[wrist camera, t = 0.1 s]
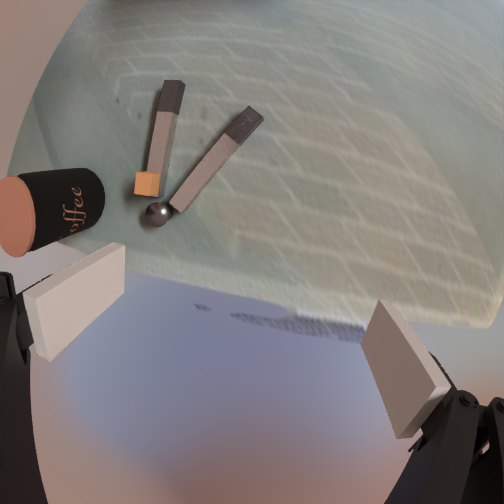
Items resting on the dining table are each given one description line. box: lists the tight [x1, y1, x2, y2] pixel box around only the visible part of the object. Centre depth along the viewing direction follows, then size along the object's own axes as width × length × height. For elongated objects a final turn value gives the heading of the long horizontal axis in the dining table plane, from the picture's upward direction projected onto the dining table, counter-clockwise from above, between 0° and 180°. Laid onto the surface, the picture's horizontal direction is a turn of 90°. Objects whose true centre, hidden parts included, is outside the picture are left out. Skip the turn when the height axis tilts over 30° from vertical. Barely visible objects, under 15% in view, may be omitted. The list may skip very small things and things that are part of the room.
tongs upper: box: [169, 106, 264, 213], centre depth 37 cm, size 18×2×2 cm, turn 139°
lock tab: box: [134, 171, 161, 196], centre depth 36 cm, size 3×2×3 cm
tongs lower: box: [146, 80, 185, 227], centre depth 37 cm, size 22×5×3 cm, turn 169°
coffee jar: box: [0, 168, 105, 257], centre depth 33 cm, size 11×11×18 cm
